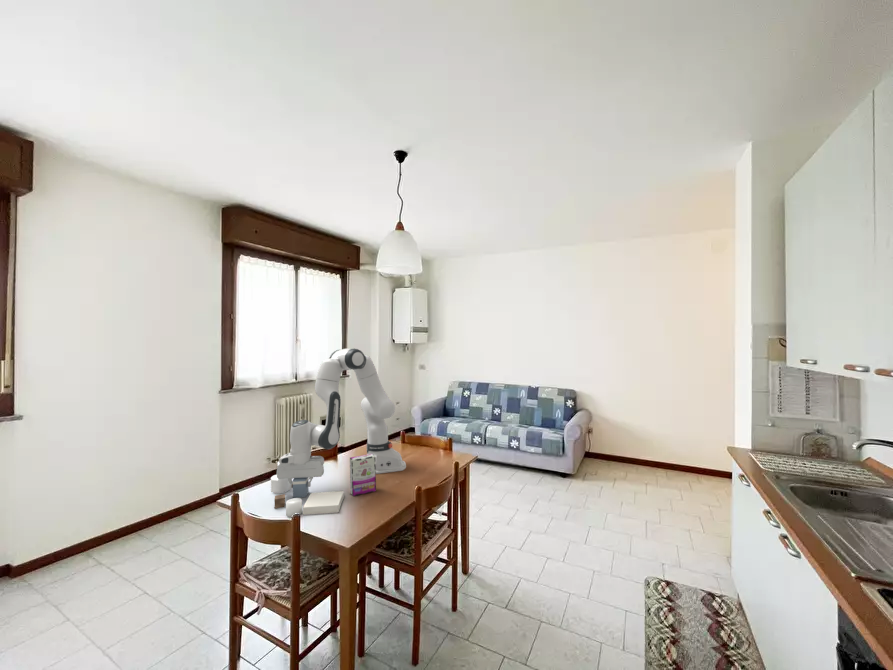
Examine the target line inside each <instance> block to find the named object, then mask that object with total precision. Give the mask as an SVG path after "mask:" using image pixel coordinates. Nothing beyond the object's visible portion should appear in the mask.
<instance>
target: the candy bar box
mask: <svg viewBox="0 0 893 670" xmlns="http://www.w3.org/2000/svg"><path fill="white" fill-rule="evenodd" d="M376 475H377V474H376V465H375V456H374V455H373V454H368V455H367V454H362V455H357V456H352V457H349V479H350V480H349V483H350V484H349V485H350V490H349V491H350V494H351V496H353V497H354V496H360V495H365V494H369V493H373V492H376V491H377V477H376Z"/></svg>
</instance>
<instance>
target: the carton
mask: <svg viewBox="0 0 893 670" xmlns="http://www.w3.org/2000/svg"><path fill="white" fill-rule="evenodd" d="M292 481H293V488H292V499H293V498H306V497H307V496H308V494H309V491H310V490H309V489H310V487H307V482H309V481H310V480H309V477H307V478H293V479H292Z"/></svg>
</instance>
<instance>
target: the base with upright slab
mask: <svg viewBox="0 0 893 670" xmlns="http://www.w3.org/2000/svg"><path fill="white" fill-rule="evenodd" d="M279 464H280V463H279V461H277V466H278V465H279ZM290 490H292V488H291V484H290V483H289V482H288V479H278V478H277V474H274V475H272V476H271V477H270V492H271V493H272V492H274V493H273V494H283V493H286V491H287V492H289V491H290ZM282 492H283V493H282Z"/></svg>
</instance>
